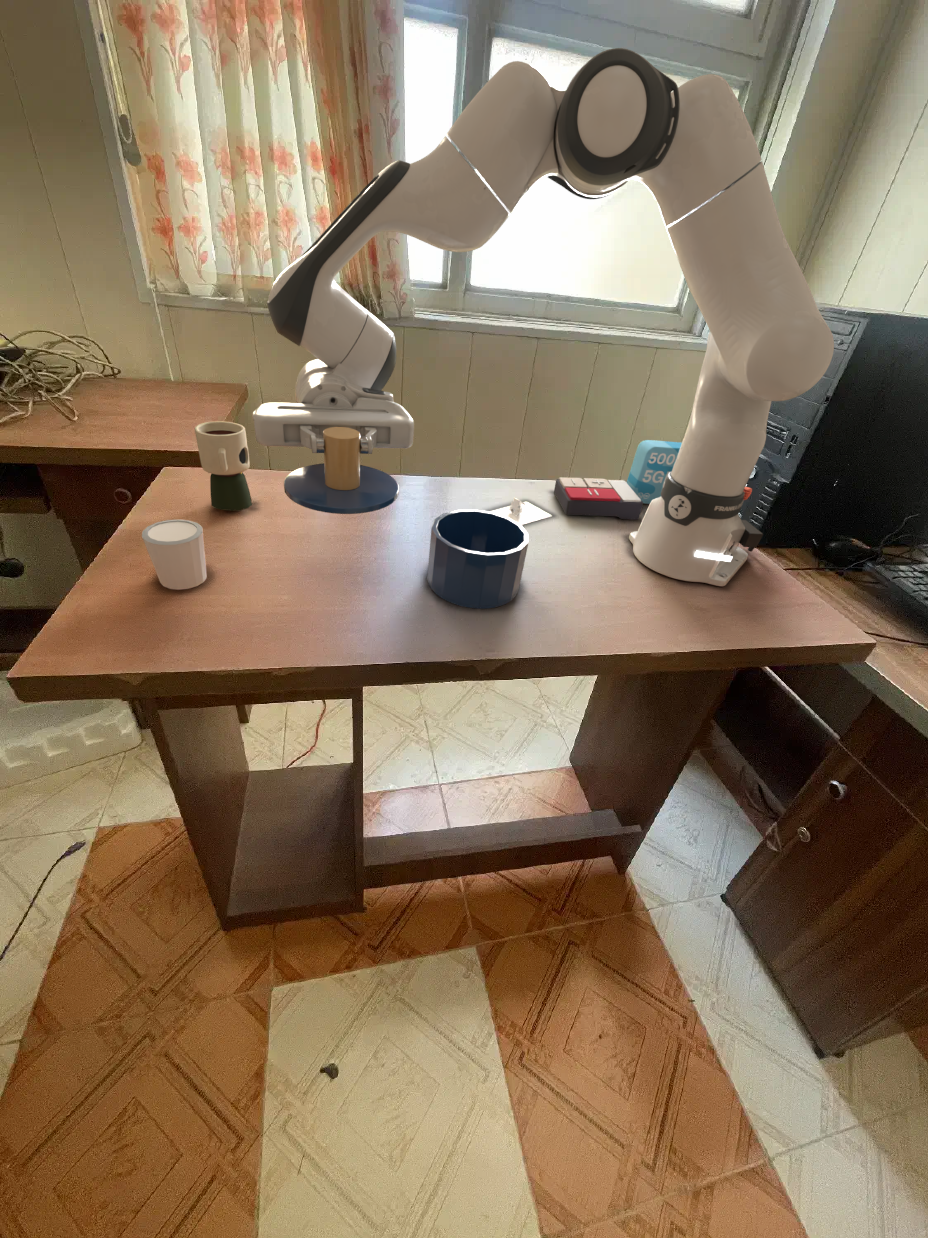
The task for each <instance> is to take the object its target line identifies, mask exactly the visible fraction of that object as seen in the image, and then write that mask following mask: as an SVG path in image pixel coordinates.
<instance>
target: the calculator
mask: <svg viewBox="0 0 928 1238" xmlns="http://www.w3.org/2000/svg"><path fill="white" fill-rule="evenodd" d="M626 482H627V481H626V480H624V479H606V478H592V477H591V478H590V477H584V478H583V479H582V477H566V476H565V477H563V476H561V477H560V476H559V478H556V480H555V484H554V490H553V494H554V496H555V498H556V499H557V501H558V503H559V506H560V507H561V509H562V511H563V512H564V514H565V515H566V516H587V517H588V516H590V517H595V516H596V517H617V518H619V519H620V520H633V521H634V520H635V521H636V520H639V519H640V516H641V513H642V510H643V506H644V504H643V502H642V500H641V499H640V498H639V497H638V496H637V495H636V493H635V492H634V491H633V490H632V489H631V487H630V486H629V485H628V484H627V483H626Z"/></svg>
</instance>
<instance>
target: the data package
mask: <svg viewBox="0 0 928 1238" xmlns="http://www.w3.org/2000/svg"><path fill="white" fill-rule="evenodd" d="M681 444H682V441H681V442H680V441H668V440H667V441H666V440H656V439H655V440H654V439H645V440H644V439H643V440H642V441H640V443H639V444H638V445H637V447H636V450H635V454H634V457H633V460H632V463H631V467H630V471H629V473H628V476H627V480H626V481H625V482H626V483H627V484H628V485H629V486H630V487H631V489H632V490H633V491H634V492H635V493H636V495H637V496H638V497H639V498H640V499H641V500H642V502H643V505H644V504H645V505H650V502H651V501H652V500H653V499H655V498H658V497H660V496H661V491H662V488H663V483H664V481H665V479H666V478H667V475H668V473H669V472H671V471H672V469H673V466H674V464H675V461H676V458H677V455H678V453H679V450H680V447H681Z"/></svg>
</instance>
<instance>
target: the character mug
mask: <svg viewBox="0 0 928 1238" xmlns="http://www.w3.org/2000/svg"><path fill="white" fill-rule="evenodd" d="M194 434H195V438H196V439H195V440H196V444H197V449H198V455H199V460H200V465H201V468H202V470H203V471H204V472H206V473H208V474H210V477H209V482H210V485H209V486H210V504H211V507H212V508H214V509H216V510H220V511H231V512H233V511H239V512H241V511H244V510H248V509H249V508H250V507H252V506H253V503H252V495H251V492H250V488H249V484H248V482H247V478H246V475H245V474H244V472H245V471H247V470H249V469H250V464H251V463H250V462H251V461H250V453H249V447H248V439H247V433H246V427H245V426H243V425H242V424H239V423H235V422H232V421H221V420H217V421H208V422H202V423H199V424H197V425H196V426H195V427H194Z"/></svg>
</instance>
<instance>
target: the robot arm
mask: <svg viewBox="0 0 928 1238" xmlns="http://www.w3.org/2000/svg"><path fill="white" fill-rule="evenodd" d="M543 178H548V179H550V180H551V181H553V182H554V183H556V184H558V185H559V186H561V187H562V188H564V189H565V190H567V191H568V192H569V193H571V194H572V195H574V196H577V197H579V198H581V199H585V200H597V199H602V198H606V197H608V196H610V195H612V194H613V193H614V192H616V191H618V190H619V189H621V188H622V187H623V186H624V185H626V184H627V183H628V182H629V181H630V180H634V181H638V182H640V183H641V184H643V185H644V186H645V187H646V188H647V189H648V191H649V192H650V193H651V195H652V196H653V199H654V200H655V201H656V202H657V203H656V204H657V206H658V209H659V212H660V215H661V218H662V221H663V224H664V226H665V229H666V232H667V234H668V238H669V240H670V243H671V246H672V248H673V250H674V253H675V256H676V258H677V261H678V264H679V266H680V269H681V272H682V275H683V277H684V280H685V283H686V285H687V288H688V290H689V292H690V294H691V296H692V297H693V299H694V301H695V303H696V305H697V307H698V309H699V311H700V313H701V316H702V317H703V320H704V321H705V324H706V325H707V328H708V329H709V332H708V336H707V343H706V350H705V353H704V358H703V362H702V364H701V369H700V373H699V377H698V381H697V385H696V390H695V394H694V399H693V404H692V408H691V413H690V418H689V421H688V424H687V427H686V430H685V433H684V436H683V439H682V441H681V443H682V444H681V447H680V450H679V453H678V455H677V458H676V461H675V464H674V466H673V469H672V471H671V472H669V473H668V475H667V478H666V479H665V481H664V483H663V488H662V491H661V496H660V497H658V498H655V499H653V500H652V501H651V502H650V504H648V507H647V509H646V511H645V513H644V516H643V518H642V519H641V522H640V525H639V527H638V529H637V530H635V531H632V532H630V534H629V536H628V540H629V541H630V543H631V544H632V552H633V555H634V556H635V558H636V559H637V560H638V561H639V562H640V563H642V564H643V565H644V566H646V567H647V568H649V569H650V570H652V571H654V572H656V573H659V574H661V575H663V576H666V577H669V578H672V579H675V580H679V581H684V582H693V583H705V584H709V585H712V586H716V587H725V586H726V585H727V584H728V583H729V581H730V580H731V579H733V577H734V576H735V575H736V573H737V572H738V571H739V570H740V569H741V568H742V566H743V565H744V564H745V563H746V561H747V560H748V557H749V553H748V552H753V550H754V549H755V548H757V547H758V545H759V543H760V541H761V539H762V538H763V536H764V534H763V532H761V531H760V529H758V528H757V527H755V526H754V525H752V524H751V522H749V521H748V520H746V519H741V516H740V512H741V509H742V506H743V504H744V501H746V500H748V499H749V498H750V497H751V495H752V492H753V488H751V487H748V486H747V484H748V482H749V479H750V477H751V476H752V473H753V471H754V469H755V467H756V464H757V463H758V460H759V458H760V456H761V454H762V451H763V449H764V447H765V444H766V441H767V426H768V421H769V414H770V409H771V406H772V402H784V401H789V400H792V399H795V398H797V397H800V396H801V395H803V394H804V393H806V392H808V391H809V390H811V388H813V387H814V386H815V385H817V384H818V382H819V381H820V380H821V379H822V378H823V376H824V375H825V374H826V372H827V370H828V369H829V367H830V364H831V362H832V359H833V356H834V350H835V341H834V340H835V339H834V336H833V333H832V330H831V328H830V327H829V325H828V324H827V322H826V320H825V319H824V317H823V315H822V313H821V312H820V310H819V307H818V305H817V303H816V300H815V298H814V295H813V293H812V290H811V288H810V286H809V284H808V281H807V279H806V277H805V275H804V273H803V270H802V269H801V266H800V265H799V262H798V260H797V259H796V257H795V254H794V253H793V251H792V249H791V247H790V244H789V243H788V241H787V238H786V235H785V233H784V231H783V226H782V224H781V222H780V217H779V215H778V212H777V208H776V205H775V202H774V198H773V194H772V190H771V187H770V184H769V180H768V177H767V174H766V169H765V166H764V163H763V161H762V157H761V153H760V150H759V147H758V144H757V141H756V137H755V136H754V133H753V130H752V128H751V125H750V123H749V121H748V119H747V116H746V114H745V112H744V110H743V108H742V106H741V103H740V101H739V100H738V98H737V96H736V94H735V92H734V91H733V89H732V87H731V86H730V84H729V83H728V81H727V80H726V79H725V78H724V77H722V76H721V75H718V74H714V73H708V74H702V75H699V76H695V77H694V78H691V79H689V80H687V81H686V82H684V83H683V84H681V85H679V86H678V84H677V83H676V81H674V80H673V79H672V78H671V77H669V76H668V75H667V74H665V73H664V72H662V71H661V70H659V69H658V68H657V67H655V66H654V65H653V64H652V63H651V62H650V61H648V60H647V59H646V58H645V57H644V56H642V55H641V54H639V53H637V52H635V51H633V50H631V49H628V48H624V47H623V48H622V47H616V48H615V47H614V48H609V49H606V50H603V51H601V52H599V53H597V54H595V55H593V56H592V57H591V58H590V59H588V60H587V61H586V62H585V63H584V64H582V66H581V67H580V68H579V69H578V70H577V71H576V73H575V74H574V75H573V77H572V78H571V80H570V82H569V83H568V85H567V87H566V89H558V88H556V87H555V86H553V85H551V84H550V83H549V81H548V79H547V78H546V77H545V76H544V75H543V74H542V72H541V71H540V70H538V69H537V68H536V67H535V66H533V65H531V64H529V63H527V62H525V61H519V60H515V61H514V60H513V61H511V62H508V63H506V64H504V65H503V66H502V67H500V68H499V69H498V70H497V72H495V74H493V76H492V77H491V78H490V79H489V80H487V82H485V84H484V85H483V86H482V88H481V89H479V90H478V92H477V93H476V94H475V95H474V96H473V98H472V99H471V100H470V102H469V103H467V105H466V106H465V108H464V109H463V110H462V111H461V113H460V114H459V116H458V117H457V118H456V120H455V121H454V122H453V124H452V125H451V127H450V128H449V130H448V131H447V133H446V135H444V137H443V139H442V140H441V141H440V143H439V144H438V145H437V146H436V147H435V149H432V151H431V152H430V153H429V154H427V155H426V156H424V157H422V158H421V159H419V160H416V161H413V162H411V163H410V162H408V161H407V162H406V161H403V160H401V159H397V160H395V161H393V162H391V163H390V164H388V165H387V166H386V167H384V168H383V169H382V170H381V171H380V172H379V173H378V174H376V176H374V177H373V178H372V180H370V181H369V182H368V183H367V184H366V185H365V186H364V188H362V190H361V191H360V192H359V193H358V194H357V195H356V196H355V197H354V198H353V199H352V200H351V201H350V203H349V204H348V205H347V206H346V207H345V208H344V209H343V210H342V211H341V212H340V214H338V216H337V217H336V218H335V219H334V220H333V221H332V222H331V223H330V224H329V225H328V227H327V228H326V229H325V230H324V231H323V232H322V233H321V235H320V236H319V237H318V238H317V239H316V240H315V241H314V242H313V243H312V244H311V245H310V246H309V248H307V249H306V251H305V252H304V253H303V254H301V256H300V257H299V258H298V259H297V260H295V261H293V262H292V263H291V264H290V265H289V266H287V267H286V268H285V269H283V271H282V272H280V274H279V275H278V276H277V277H276V279H275V281H274V282H273V283H272V286H271V288H270V291H269V293H268V294H269V295H268V299H267V301H266V304H267V309H268V312H269V316H270V318H271V322H272V324H273V326H274V329H275V330H276V332H277V334H278V335H280V336H282V337H283V338H285V339H287V340H288V341H290V342H291V343H293V344H295V345H296V346H298V347H301V348H302V349H304V350H305V351H307V352H308V353H309V354H310V355H312V356H313V357H315V358H316V359H311V360H310V361H308V362H307V363H305V364H304V365H303V367H301V369H300V371H299V372H298V374H297V377H296V380H295V386H294V396H295V401H296V402H280V401H279V402H275V401H273V402H272V401H271V402H270V401H269V402H264V403H261V404H259V405H258V406H257V408H256V409H255V410H253V411H252V414H251V419H252V420H253V425H254V426H253V427H254V434H255V441H256V443H258V444H259V445H261V446H264V447H291V448H292V447H298V448H300V447H302V448H307V449H309V450H311V453H312V454H324V453H325V448H324V445H325V444H324V438H323V431H324V430H325V429H327V428H331V427H346V428H351V429H355V430H357V431H358V432H359V433H360V455H372V454H373V449H409V448H411V447H413V444H414V438H415V437H414V436H415V421H414V419H413V418H412V415H410V413H409V412H408V411H407V410H406V408H404V407H403V406H402V405H401V404H399V403H397V402H395V400H394V394H393V393H391V392H389V391H384V390H383V389H384V388H385V386H386V385H387V383H388V382H389V380H390V379H391V377H392V375H393V372H394V371H395V367H396V363H397V342H396V337H395V333H394V332H393V330H391V328H389V327H388V326H387V325H386V324H385V323H383V322H382V321H381V320H380V319H379V318H378V317H376V316H375V315H374V314H373V313H372V312H371V311H370V310H368V309H366V308H365V307H364V306H363V305H362V304H361V303H360V302H358V301H357V300H356V299H355V298H354V297H352V296H351V294H350V293H348V292H347V291H346V290H344V289H343V288H342V287H341V286H340V285H339V284H338V283H337V282H336V280H335V277H336V276H337V275H338V273H340V271H342V269H344V268H345V266H346V265H347V264H348V263H349V262H350V261H351V260H352V259H353V258H354V257H355V256H356V255H357V254H358V253H359V251H361V250H362V249H363V248H364V246H365V245H366V244H367V243H368V242H369V241H370V240H371V239H373V238H374V237H376V236H377V235H379V234H382V233H387V232H393V233H398V234H399V233H400V234H403V235H407V236H410V237H412V238H415V239H417V240H419V241H420V242H423V243H425V244H428V245H430V246H432V247H435V248H436V249H440V250H443V251H447V252H452V253H468V252H472V251H475V250H478V249H480V248H482V247H483V246H484V245H485V244H486V243H487V242H488V241H490V239H492V237H494V235H495V234H497V232H498V231H499V230H500V229H501V227H502V226H503V225H504V223H505V222H506V221H507V219H508V218H509V217H510V216H511V215H510V214H512V213H513V212H514V210H516V208H517V206H518V205H519V204H520V202H521V201H522V200H523V198H524V197H525V196H526V195H527V194H528V192H529V191H530V190H531V189H532V188H533V187H534V186H535V185H536V184H537V183H538V182H539V181H541V180H542V179H543ZM739 544H740V545H741V546H742V547H743V548H747V551H748V552H747V551H746V550H744V549H743V548H742V547H740V546H739Z"/></svg>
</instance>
